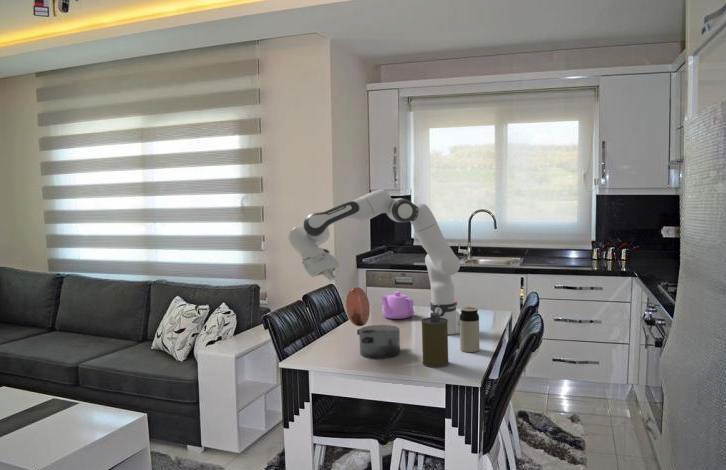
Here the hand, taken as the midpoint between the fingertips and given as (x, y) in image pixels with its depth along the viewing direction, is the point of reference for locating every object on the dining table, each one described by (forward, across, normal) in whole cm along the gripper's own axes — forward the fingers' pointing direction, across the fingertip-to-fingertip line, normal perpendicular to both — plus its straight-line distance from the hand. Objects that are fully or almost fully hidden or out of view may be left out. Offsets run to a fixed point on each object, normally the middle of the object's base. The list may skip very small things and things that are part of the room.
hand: (333, 279), depth 245 cm
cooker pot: (+37, 0, +6) cm, 38 cm away
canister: (+57, -4, -13) cm, 58 cm away
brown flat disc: (+17, 0, -1) cm, 17 cm away
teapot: (+20, +62, +23) cm, 69 cm away
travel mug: (+61, +19, -17) cm, 66 cm away
